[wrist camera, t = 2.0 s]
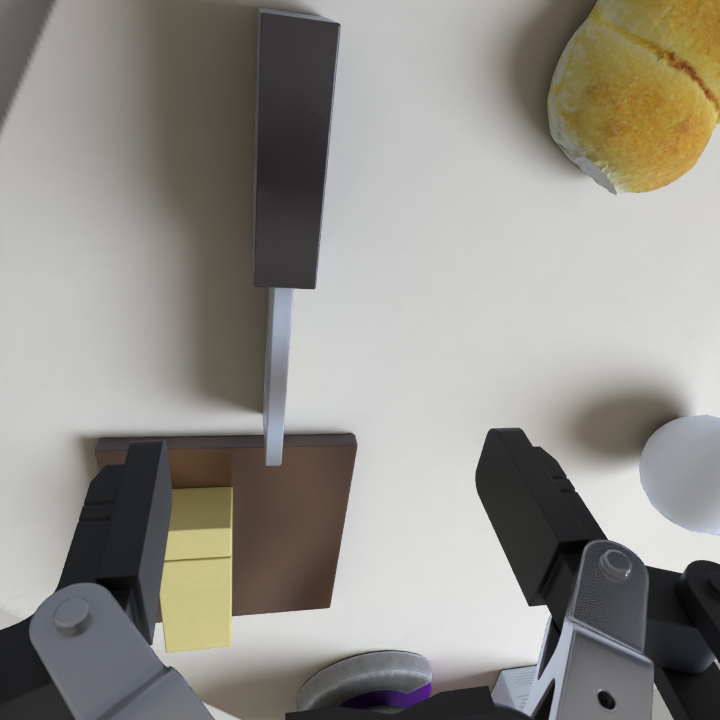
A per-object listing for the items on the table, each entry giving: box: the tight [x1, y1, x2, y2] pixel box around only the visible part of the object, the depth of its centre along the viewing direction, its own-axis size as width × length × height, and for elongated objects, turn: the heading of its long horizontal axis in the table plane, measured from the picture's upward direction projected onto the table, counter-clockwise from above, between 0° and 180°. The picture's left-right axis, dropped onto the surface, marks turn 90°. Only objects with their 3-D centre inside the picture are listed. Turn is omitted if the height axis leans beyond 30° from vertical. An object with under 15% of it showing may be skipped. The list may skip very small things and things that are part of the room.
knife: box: [252, 7, 341, 466], centre depth 23 cm, size 19×2×4 cm, turn 172°
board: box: [95, 434, 358, 623], centre depth 35 cm, size 14×16×1 cm
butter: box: [159, 553, 232, 653], centre depth 34 cm, size 4×9×3 cm, turn 173°
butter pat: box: [165, 487, 233, 560], centre depth 30 cm, size 4×2×3 cm, turn 82°
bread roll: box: [547, 0, 720, 195], centre depth 22 cm, size 8×9×4 cm
